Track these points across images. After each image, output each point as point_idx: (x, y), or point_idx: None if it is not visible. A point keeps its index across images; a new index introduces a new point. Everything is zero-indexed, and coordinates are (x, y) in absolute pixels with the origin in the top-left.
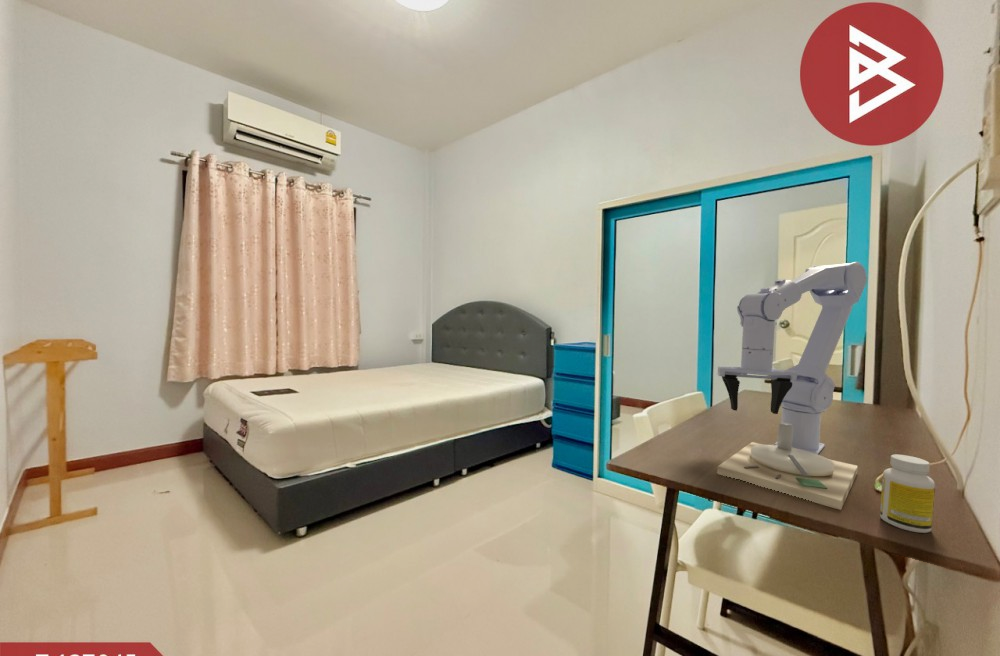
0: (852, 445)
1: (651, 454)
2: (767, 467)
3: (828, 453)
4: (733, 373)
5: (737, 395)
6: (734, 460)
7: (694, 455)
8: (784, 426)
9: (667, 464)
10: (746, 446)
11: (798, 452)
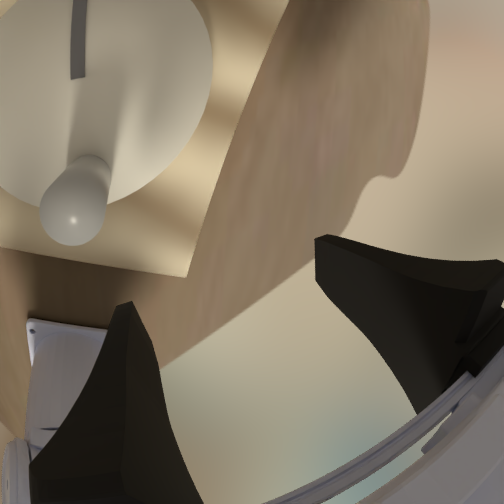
0: (12, 421)
1: (409, 67)
2: None
3: (17, 351)
4: (490, 376)
5: (382, 264)
6: (257, 25)
7: (337, 95)
8: (77, 177)
9: (383, 12)
10: (204, 210)
11: (45, 153)
